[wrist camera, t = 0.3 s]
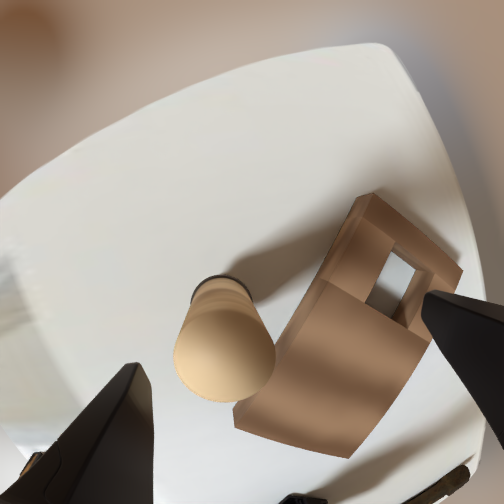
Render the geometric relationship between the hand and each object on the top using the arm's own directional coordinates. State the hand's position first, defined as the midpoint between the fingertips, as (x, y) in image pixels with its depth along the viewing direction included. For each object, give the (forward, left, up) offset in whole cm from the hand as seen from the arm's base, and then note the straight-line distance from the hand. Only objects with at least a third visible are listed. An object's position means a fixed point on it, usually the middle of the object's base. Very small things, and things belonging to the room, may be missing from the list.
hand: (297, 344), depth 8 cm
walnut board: (0, -12, -15) cm, 19 cm away
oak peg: (-2, +1, -15) cm, 16 cm away
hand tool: (-19, -46, -16) cm, 53 cm away
